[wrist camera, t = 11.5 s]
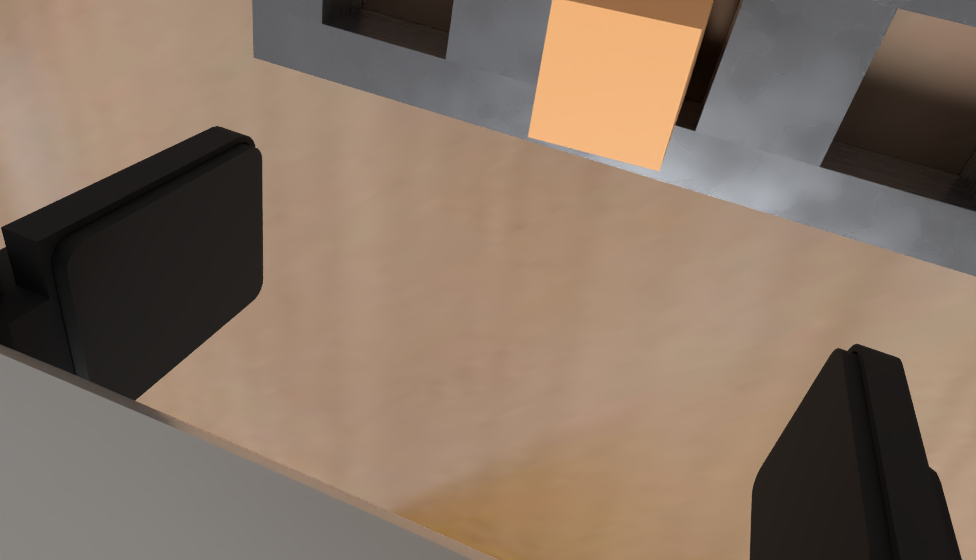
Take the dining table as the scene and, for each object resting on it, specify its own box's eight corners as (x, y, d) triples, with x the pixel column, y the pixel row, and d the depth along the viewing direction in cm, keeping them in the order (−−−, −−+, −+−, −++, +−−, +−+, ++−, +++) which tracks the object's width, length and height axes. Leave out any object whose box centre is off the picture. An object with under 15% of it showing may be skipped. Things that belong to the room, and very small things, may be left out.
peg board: (1208, -16, 21) (1280, 4, 18) (1014, 250, 27) (1044, 299, 24) (301, -216, 27) (243, -224, 24) (297, 39, 33) (250, 58, 30)
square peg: (722, -26, 26) (702, 29, 18) (690, 80, 28) (659, 171, 20) (617, -47, 26) (552, -3, 18) (594, 57, 29) (528, 136, 21)
